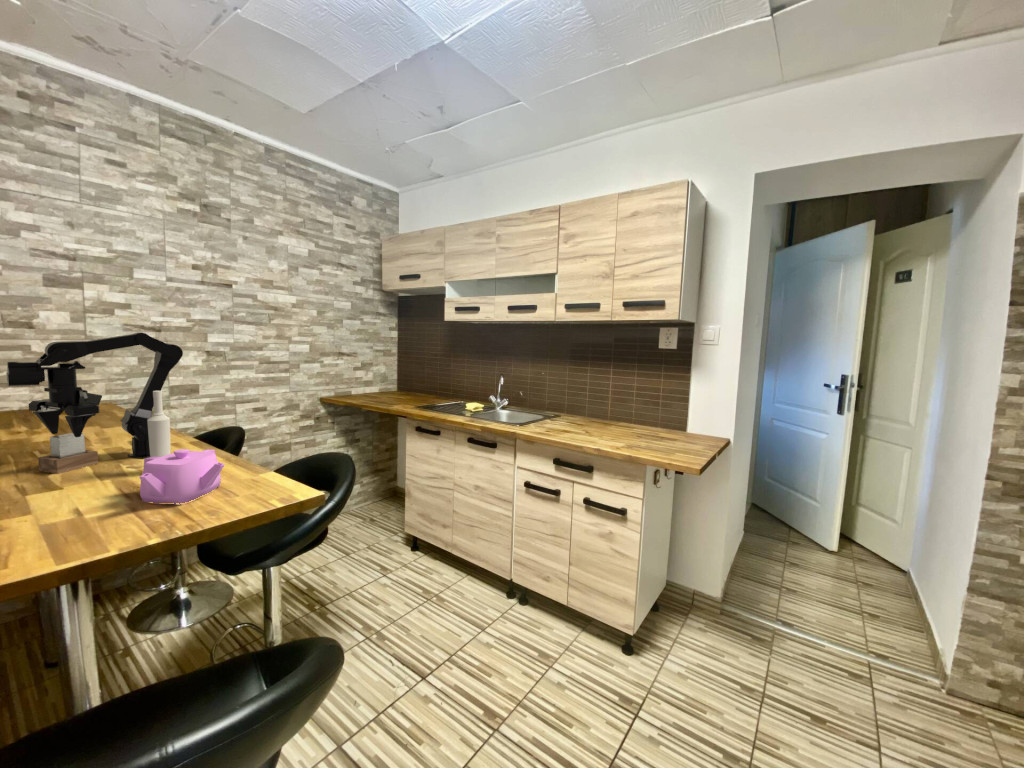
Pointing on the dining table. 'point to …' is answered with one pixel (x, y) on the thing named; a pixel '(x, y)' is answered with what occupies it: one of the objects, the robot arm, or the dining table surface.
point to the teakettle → (180, 476)
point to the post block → (67, 462)
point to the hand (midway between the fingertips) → (66, 435)
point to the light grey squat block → (67, 445)
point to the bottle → (159, 429)
